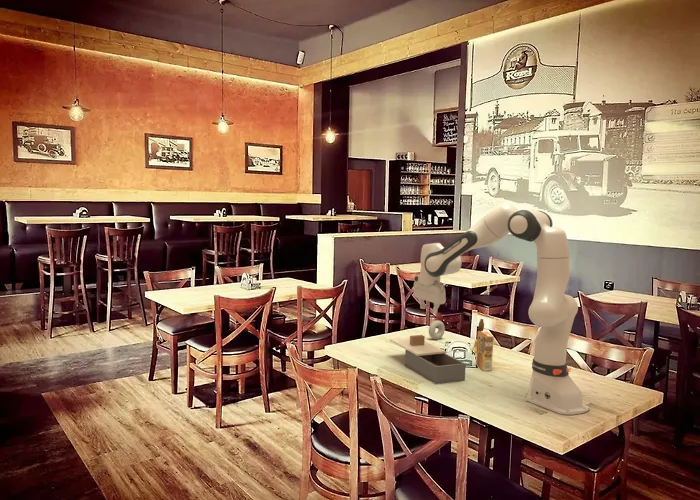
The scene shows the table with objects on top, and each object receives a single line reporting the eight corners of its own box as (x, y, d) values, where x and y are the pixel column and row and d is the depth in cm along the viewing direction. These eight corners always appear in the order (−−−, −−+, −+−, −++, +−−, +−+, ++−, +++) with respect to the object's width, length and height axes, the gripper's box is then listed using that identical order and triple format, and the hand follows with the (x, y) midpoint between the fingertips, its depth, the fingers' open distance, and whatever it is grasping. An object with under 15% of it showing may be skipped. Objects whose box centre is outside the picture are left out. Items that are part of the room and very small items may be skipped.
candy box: (492, 371, 231) (494, 336, 229) (482, 371, 230) (485, 336, 228) (484, 364, 239) (486, 330, 238) (475, 364, 239) (477, 330, 237)
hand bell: (478, 348, 265) (480, 316, 264) (491, 352, 258) (493, 320, 257) (466, 350, 260) (468, 318, 259) (479, 355, 254) (481, 321, 252)
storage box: (464, 380, 217) (465, 363, 216) (435, 384, 211) (436, 367, 211) (432, 362, 239) (432, 347, 238) (404, 365, 233) (405, 349, 232)
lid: (445, 353, 229) (446, 342, 229) (417, 355, 223) (418, 344, 223) (416, 338, 251) (416, 328, 250) (389, 340, 245) (390, 330, 245)
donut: (441, 337, 283) (442, 318, 282) (445, 339, 280) (446, 320, 279) (426, 339, 277) (427, 320, 276) (431, 341, 275) (432, 322, 274)
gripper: (450, 282, 226) (448, 315, 227) (423, 276, 244) (422, 306, 246) (437, 283, 223) (436, 316, 225) (411, 276, 242) (410, 306, 243)
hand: (428, 310), depth 235 cm, fingers open, 8 cm apart
